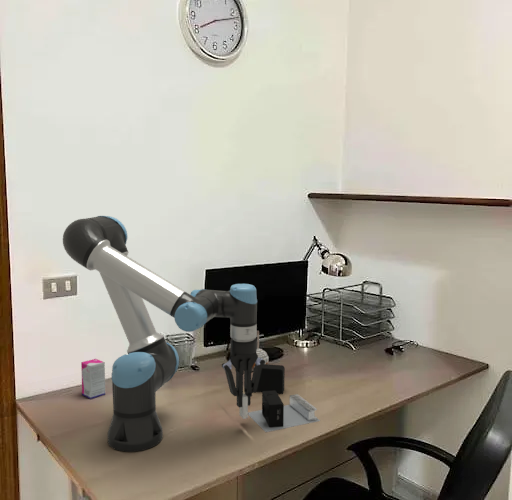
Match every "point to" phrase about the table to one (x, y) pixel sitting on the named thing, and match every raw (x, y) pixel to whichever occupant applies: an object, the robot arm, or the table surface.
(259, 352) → the decorative ornament
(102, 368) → the supplement box
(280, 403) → the digital camera
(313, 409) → the rail
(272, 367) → the electronic device
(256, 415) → the mounting plate
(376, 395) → the table surface
